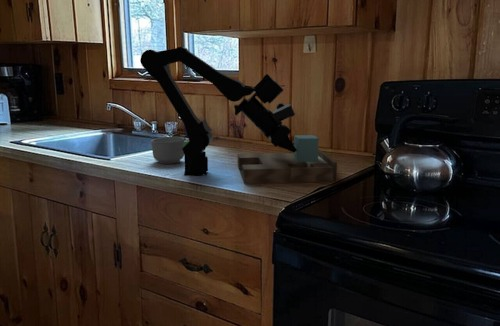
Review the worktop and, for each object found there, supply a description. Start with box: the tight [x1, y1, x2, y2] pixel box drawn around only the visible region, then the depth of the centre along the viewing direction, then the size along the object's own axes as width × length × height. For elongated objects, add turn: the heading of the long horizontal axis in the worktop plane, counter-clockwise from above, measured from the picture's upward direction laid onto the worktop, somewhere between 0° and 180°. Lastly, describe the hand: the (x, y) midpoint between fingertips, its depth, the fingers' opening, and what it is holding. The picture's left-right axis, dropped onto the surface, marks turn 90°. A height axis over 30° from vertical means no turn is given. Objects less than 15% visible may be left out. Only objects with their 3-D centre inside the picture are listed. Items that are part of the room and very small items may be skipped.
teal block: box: [293, 134, 320, 162], centre depth 139 cm, size 6×6×7 cm
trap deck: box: [237, 148, 338, 185], centre depth 140 cm, size 26×22×6 cm
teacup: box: [150, 136, 185, 165], centre depth 156 cm, size 14×11×8 cm
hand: (295, 151), depth 139 cm, fingers closed, pressing on teal block
